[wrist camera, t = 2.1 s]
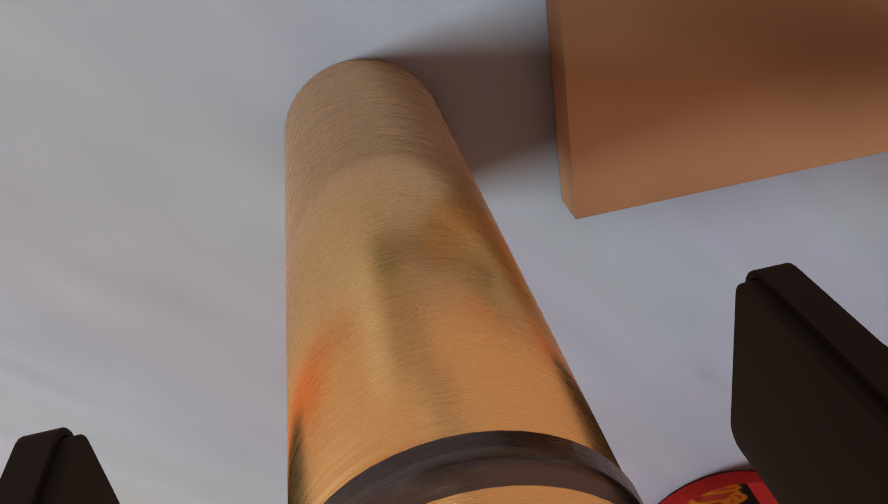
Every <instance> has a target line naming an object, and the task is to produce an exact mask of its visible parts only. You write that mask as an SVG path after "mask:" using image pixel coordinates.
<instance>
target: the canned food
mask: <svg viewBox="0 0 888 504" xmlns="http://www.w3.org/2000/svg"><path fill="white" fill-rule="evenodd" d="M660 504H779V503H778V502H777V500H776V499H775V498H774V496H773V495H772V493H771V492H770V491H769V489H768V488H767V486H766V485H765V484H764V482H763V481H762V479H761V478H760V477H759V475H758V474H757V472H756V471H736V472H729V473H722V474H717V475H714V476H711V477H707V478H704V479H700V480H698V481H696V482H694V483H692V484H689V485H687V486H685V487H683V488H681V489H680V490H678V491H676V492H675V493H673V494H672V495H670V496H668V497H667V498H666V499H665V500H663V501H662V502H661V503H660Z"/></svg>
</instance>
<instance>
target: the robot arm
mask: <svg viewBox="0 0 888 504" xmlns="http://www.w3.org/2000/svg"><path fill="white" fill-rule="evenodd" d="M731 428H732V433H733V436H734V439H735V441H736V443H737V445H738V447H739V449H740V450H741V451H742V453H743V454H744V456H745V457H746V458H747V460H748V461H749V463H750V464H751V465H752V467H753V468H754V470H755V471H756V472H757V474H758V475H759V477H760V478H761V479H762V481H763V482H764V484H765V485H766V486H767V488H768V489H769V491H770V492H771V493H772V495H773V496H774V498H775V499H776V500H777V502H778V503H779V504H888V347H887V346H886V345H884V344H883V343H882V342H880V341H879V340H878V339H877V338H876V337H875V336H874V335H873V334H871V333H870V332H869V331H868V330H867V329H866V328H865V327H864V326H862V325H861V324H860V323H859V322H858V321H857V320H856V319H855V318H853V317H852V316H851V315H850V314H849V313H848V312H847V311H846V310H844V309H843V308H842V307H841V306H840V305H839V304H838V303H837V302H835V301H834V300H833V299H832V298H831V297H830V296H829V295H828V294H826V293H825V292H824V291H823V290H822V289H821V288H820V287H819V286H817V285H816V284H815V283H814V282H813V281H812V280H811V279H810V278H808V277H807V276H806V275H805V274H804V273H803V272H802V271H801V270H799V269H798V268H797V267H796V266H794V265H793V264H791V263H784V264H780V265H775V266H771V267H766V268H762V269H758V270H753V271H751V272H749V273H748V275H747V277H746V281H745V283H741V284H739V285H738V286H737V289H736V299H735V325H734V351H733V376H732V402H731ZM0 504H120V503H119V501H118V499H117V497H116V495H115V493H114V491H113V489H112V487H111V485H110V483H109V481H108V479H107V477H106V475H105V473H104V471H103V469H102V467H101V465H100V463H99V461H98V459H97V457H96V455H95V453H94V451H93V449H92V447H91V445H90V443H89V441H88V439H87V438H86V437H85V436H84V435H81V434H80V435H75V436H74V435H73V434H72V432H71V431H70V430H69V429H67V428H63V427H62V428H58V429H54V430H49V431H45V432H40V433H36V434H32V435H27V436H23V437H21V438H19V439H18V441H17V442H16V444H15V446H14V448H13V450H12V453H11V455H10V457H9V460H8V462H7V464H6V467H5V469H4V471H3V474H2V476H1V478H0Z"/></svg>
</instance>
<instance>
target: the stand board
mask: <svg viewBox="0 0 888 504" xmlns="http://www.w3.org/2000/svg"><path fill="white" fill-rule="evenodd" d="M546 7H547V19H548V32H549V44H550V56H551V69H552V81H553V94H554V106H555V118H556V131H557V143H558V155H559V168H560V180H561V193H562V201H563V202H564V203H565V205H566V206H567V208H568V209H569V211H570V212H571V213H572V215H573V216H574V218H575V219H579V218H584V217H588V216H593V215H598V214H602V213H607V212H611V211H616V210H620V209H625V208H630V207H634V206H639V205H643V204H648V203H653V202H657V201H662V200H666V199H671V198H675V197H680V196H685V195H689V194H694V193H698V192H703V191H708V190H712V189H717V188H721V187H726V186H730V185H735V184H740V183H744V182H749V181H753V180H758V179H762V178H767V177H772V176H776V175H781V174H785V173H790V172H795V171H799V170H804V169H808V168H813V167H817V166H822V165H827V164H831V163H836V162H840V161H845V160H850V159H854V158H859V157H863V156H868V155H872V154H877V153H882V152H886V151H888V0H546Z"/></svg>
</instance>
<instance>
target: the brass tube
mask: <svg viewBox="0 0 888 504" xmlns="http://www.w3.org/2000/svg"><path fill="white" fill-rule="evenodd" d="M285 236H286V349H287V461H288V504H643V502H642V500H641V498H640V496H639V494H638V493H637V491H636V489H635V487H634V485H633V484H632V482H631V481H630V480H629V479H628V477H627V476H626V475H625V474H624V473H623V472H622V470H621V469H620V467H619V465H618V463H617V461H616V459H615V457H614V455H613V453H612V451H611V449H610V447H609V445H608V443H607V441H606V439H605V437H604V435H603V433H602V431H601V429H600V427H599V425H598V423H597V421H596V419H595V417H594V415H593V413H592V411H591V409H590V407H589V405H588V403H587V401H586V399H585V397H584V395H583V393H582V391H581V389H580V387H579V385H578V383H577V381H576V380H575V378H574V376H573V374H572V372H571V370H570V368H569V366H568V364H567V362H566V360H565V358H564V356H563V354H562V352H561V350H560V348H559V346H558V344H557V342H556V340H555V338H554V336H553V334H552V332H551V330H550V328H549V326H548V324H547V322H546V320H545V318H544V316H543V314H542V312H541V310H540V308H539V306H538V304H537V302H536V300H535V298H534V296H533V294H532V292H531V291H530V289H529V287H528V285H527V283H526V281H525V279H524V277H523V275H522V273H521V271H520V269H519V267H518V265H517V263H516V261H515V259H514V257H513V255H512V253H511V251H510V249H509V247H508V245H507V243H506V241H505V239H504V237H503V235H502V233H501V231H500V229H499V227H498V225H497V223H496V221H495V219H494V217H493V215H492V213H491V211H490V209H489V207H488V205H487V203H486V201H485V200H484V198H483V196H482V194H481V192H480V190H479V188H478V186H477V184H476V182H475V180H474V178H473V176H472V174H471V172H470V170H469V168H468V166H467V164H466V162H465V160H464V158H463V156H462V154H461V152H460V150H459V148H458V146H457V144H456V142H455V140H454V138H453V136H452V134H451V132H450V130H449V128H448V126H447V124H446V122H445V120H444V118H443V116H442V114H441V112H440V111H439V109H438V107H437V105H436V103H435V101H434V99H433V97H432V95H431V94H430V92H429V91H428V90H427V88H426V87H425V86H424V85H423V84H422V83H421V82H420V81H419V80H418V79H417V78H416V77H415V76H414V75H412V74H411V73H410V72H408V71H406V70H405V69H403V68H401V67H399V66H396V65H394V64H392V63H388V62H384V61H381V60H373V59H356V60H349V61H345V62H341V63H338V64H335V65H333V66H330V67H328V68H326V69H324V70H323V71H321V72H319V73H318V74H316V75H315V76H314V77H313V78H311V79H310V80H309V81H308V82H307V83H306V84H305V85H304V86H303V87H302V88H301V90H300V91H299V92H298V94H297V95H296V97H295V99H294V100H293V102H292V104H291V107H290V109H289V112H288V115H287V119H286V123H285Z"/></svg>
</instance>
